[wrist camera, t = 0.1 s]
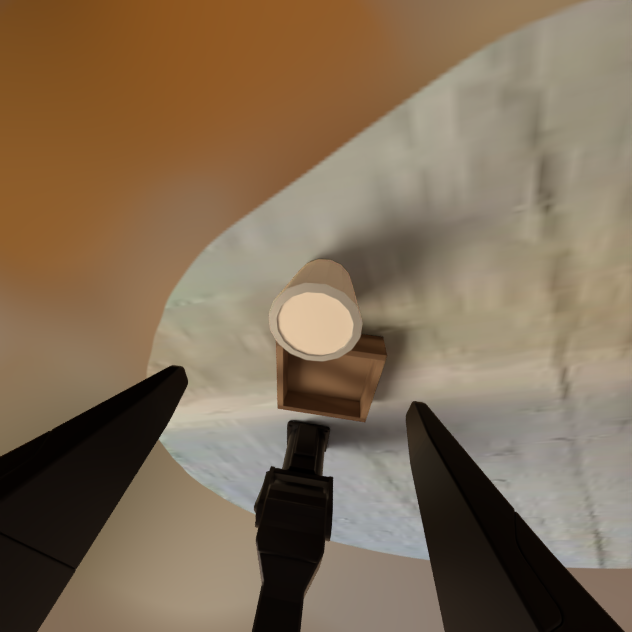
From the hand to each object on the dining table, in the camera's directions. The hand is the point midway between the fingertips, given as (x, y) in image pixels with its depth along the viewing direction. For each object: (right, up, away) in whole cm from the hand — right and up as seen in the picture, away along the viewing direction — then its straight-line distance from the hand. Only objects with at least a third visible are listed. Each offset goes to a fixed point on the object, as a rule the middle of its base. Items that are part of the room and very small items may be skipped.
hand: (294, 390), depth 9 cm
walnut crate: (+2, -3, +19) cm, 19 cm away
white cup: (+2, +6, +14) cm, 15 cm away
